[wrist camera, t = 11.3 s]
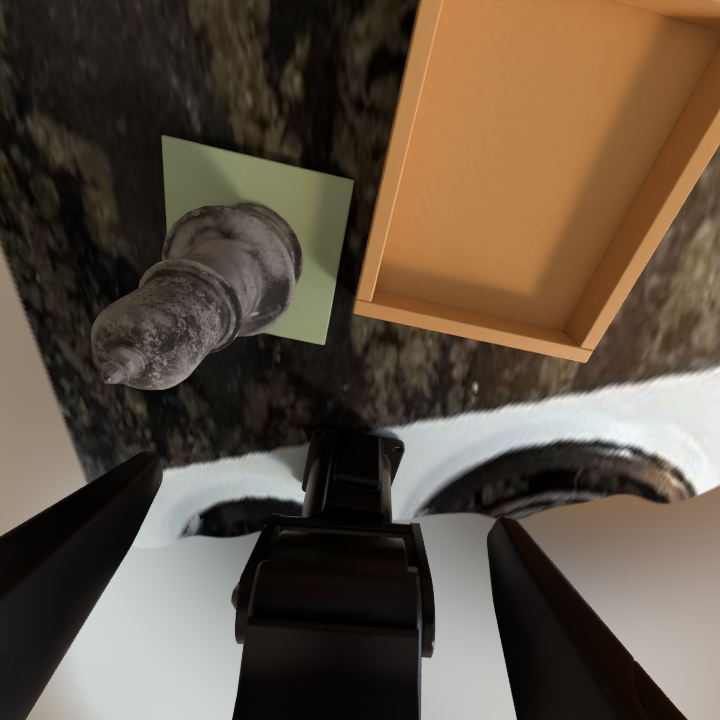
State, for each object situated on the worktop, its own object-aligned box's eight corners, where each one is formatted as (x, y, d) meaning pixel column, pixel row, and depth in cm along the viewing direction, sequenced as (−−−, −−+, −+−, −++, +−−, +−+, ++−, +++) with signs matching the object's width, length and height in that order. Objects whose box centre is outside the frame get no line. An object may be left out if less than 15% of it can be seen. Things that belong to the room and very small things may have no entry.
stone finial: (178, 208, 18) (-91, 284, 8) (291, 185, 17) (161, 235, 7) (221, 316, 21) (66, 478, 11) (320, 300, 20) (258, 457, 10)
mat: (325, 342, 22) (324, 345, 22) (174, 311, 21) (171, 313, 21) (354, 180, 18) (354, 180, 17) (165, 135, 17) (161, 135, 17)
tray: (565, 342, 21) (586, 363, 19) (355, 297, 20) (352, 314, 18) (749, 14, 14) (813, -9, 12) (434, -76, 13) (445, -117, 11)
